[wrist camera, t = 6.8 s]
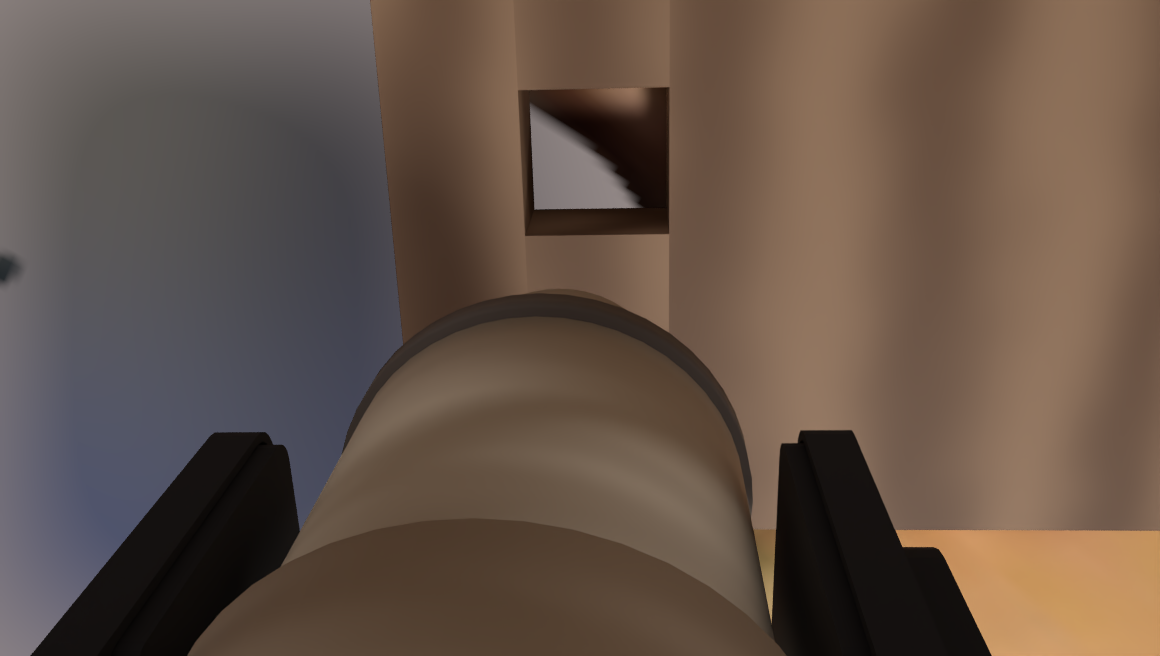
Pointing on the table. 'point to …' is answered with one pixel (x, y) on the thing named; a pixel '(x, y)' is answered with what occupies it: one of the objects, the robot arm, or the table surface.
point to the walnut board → (832, 224)
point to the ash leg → (524, 502)
